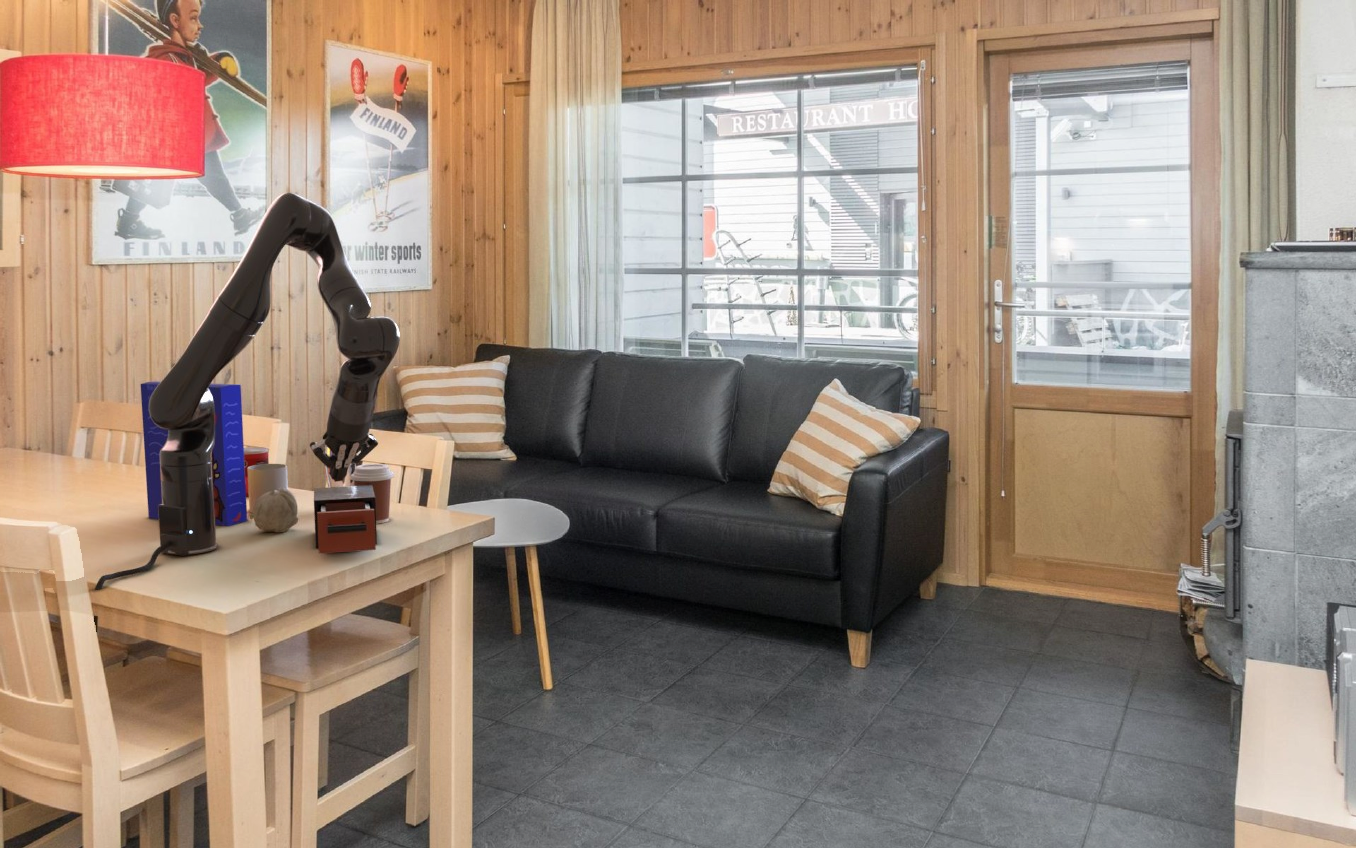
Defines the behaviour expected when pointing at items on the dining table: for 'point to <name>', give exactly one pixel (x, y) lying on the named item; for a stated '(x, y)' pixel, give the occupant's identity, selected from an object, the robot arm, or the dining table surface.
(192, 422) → the robot arm
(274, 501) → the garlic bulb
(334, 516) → the brown drawer box
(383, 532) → the dining table surface
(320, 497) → the box
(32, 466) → the dining table surface
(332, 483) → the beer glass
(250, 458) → the canned food
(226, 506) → the cereal box
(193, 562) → the dining table surface
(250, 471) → the cup
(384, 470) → the coffee cup
